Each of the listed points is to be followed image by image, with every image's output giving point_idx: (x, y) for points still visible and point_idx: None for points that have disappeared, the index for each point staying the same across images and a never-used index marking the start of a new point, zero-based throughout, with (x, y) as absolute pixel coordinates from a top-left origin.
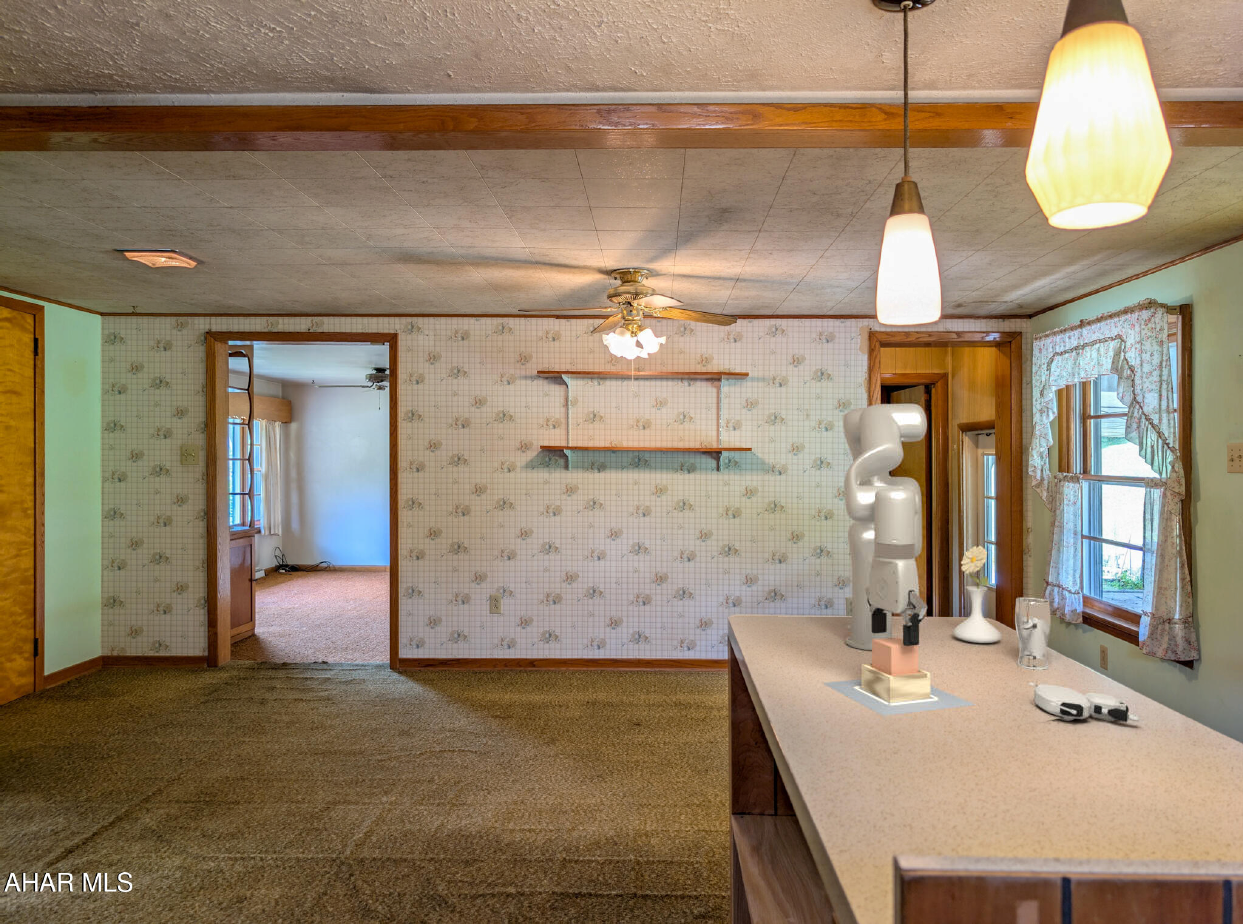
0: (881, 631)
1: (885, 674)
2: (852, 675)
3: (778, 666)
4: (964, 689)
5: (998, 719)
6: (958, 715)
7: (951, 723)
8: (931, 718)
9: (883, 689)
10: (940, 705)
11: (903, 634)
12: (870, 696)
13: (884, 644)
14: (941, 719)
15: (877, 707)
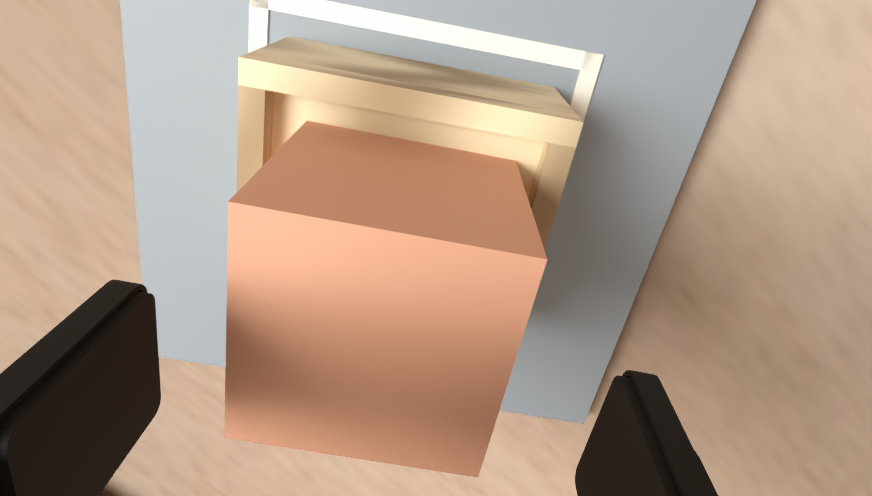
0: (591, 441)
1: (307, 82)
2: (779, 268)
3: None
4: (370, 479)
5: (44, 326)
6: (117, 237)
7: (29, 128)
8: (108, 101)
9: (337, 55)
10: (176, 229)
11: (63, 342)
12: (421, 19)
13: (340, 219)
14: (86, 132)
15: None
